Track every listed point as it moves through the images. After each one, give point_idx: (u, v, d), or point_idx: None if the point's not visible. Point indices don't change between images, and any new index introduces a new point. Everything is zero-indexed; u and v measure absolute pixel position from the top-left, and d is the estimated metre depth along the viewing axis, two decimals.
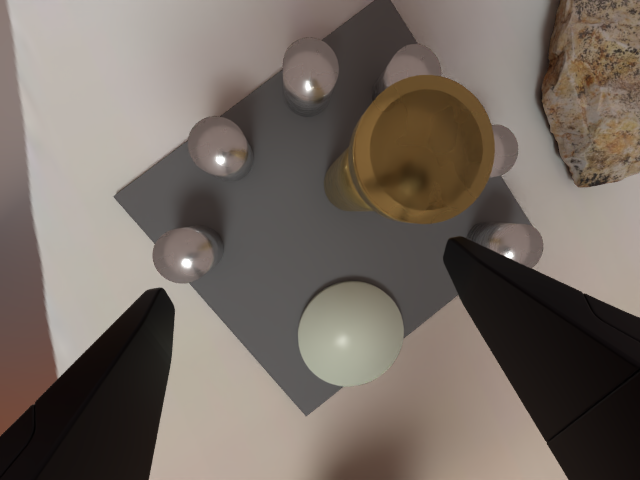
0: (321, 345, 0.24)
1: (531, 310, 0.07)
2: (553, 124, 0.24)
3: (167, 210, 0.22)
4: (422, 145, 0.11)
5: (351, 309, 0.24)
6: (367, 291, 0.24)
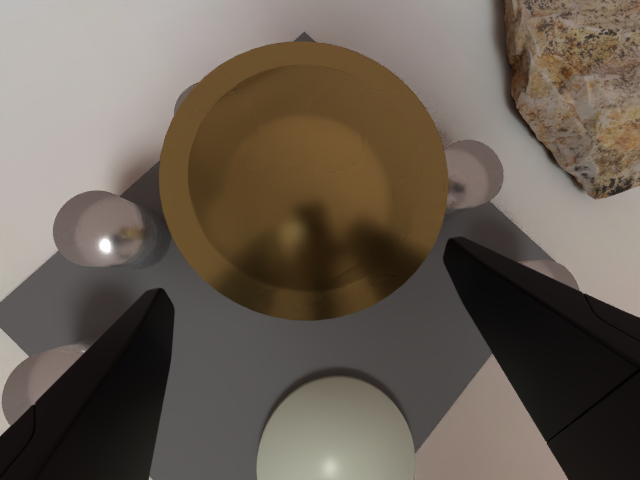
0: None
1: (531, 310, 0.07)
2: (538, 131, 0.20)
3: (60, 321, 0.17)
4: (297, 163, 0.05)
5: (329, 421, 0.17)
6: (348, 389, 0.17)
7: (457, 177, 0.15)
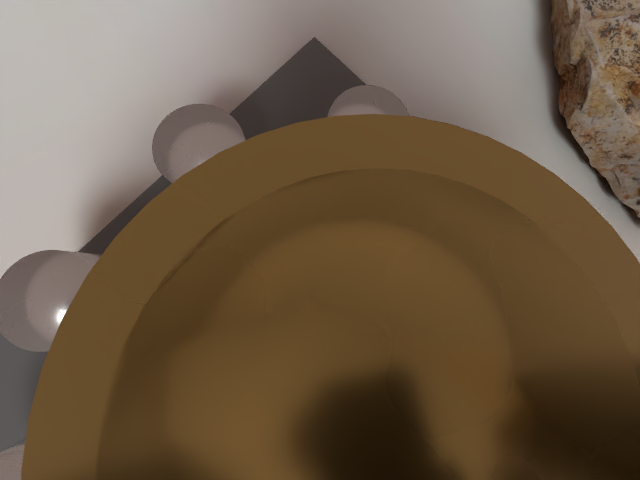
0: None
1: None
2: (593, 155, 0.17)
3: (17, 398, 0.14)
4: (363, 416, 0.02)
5: None
6: None
7: None
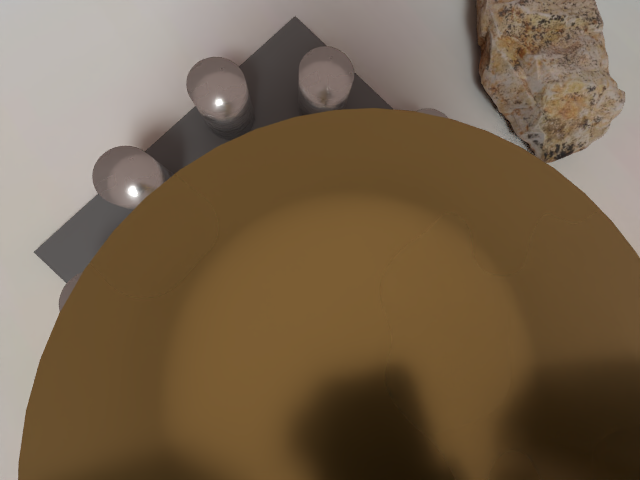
0: None
1: None
2: (499, 103, 0.23)
3: None
4: (362, 411, 0.02)
5: None
6: None
7: None
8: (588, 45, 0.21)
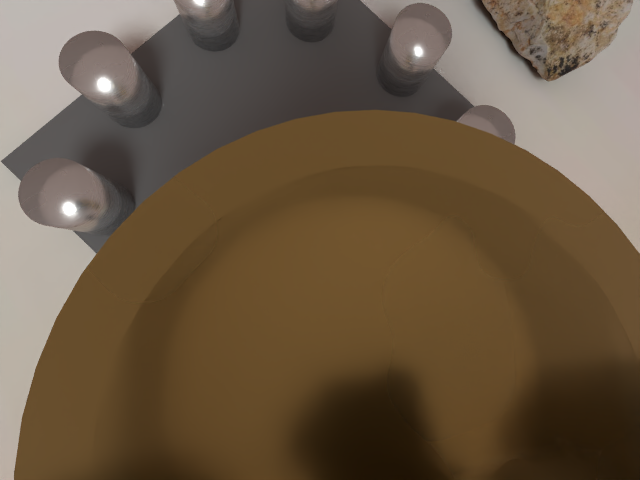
0: None
1: None
2: (499, 19, 0.22)
3: None
4: (364, 418, 0.02)
5: None
6: None
7: (411, 34, 0.18)
8: None
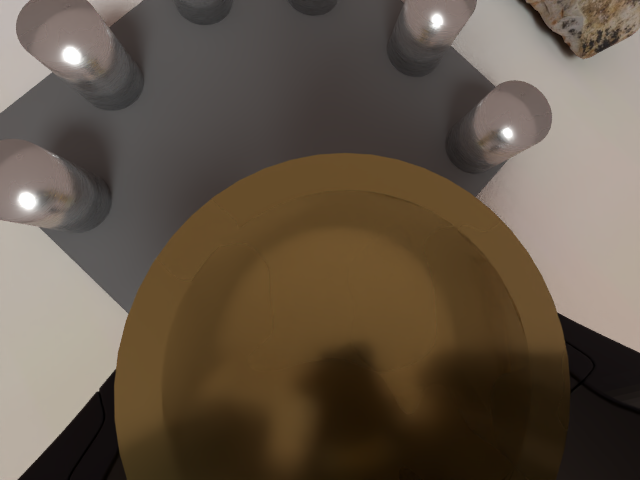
0: None
1: None
2: None
3: None
4: (335, 356, 0.03)
5: None
6: None
7: None
8: None
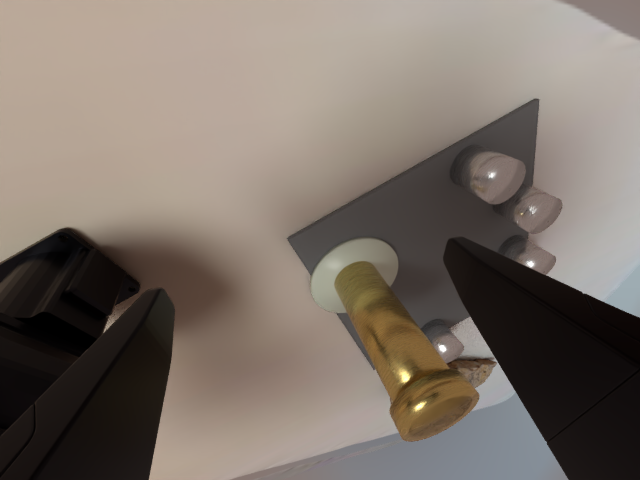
0: (357, 257, 0.26)
1: (531, 310, 0.07)
2: None
3: (505, 144, 0.25)
4: (444, 414, 0.18)
5: None
6: None
7: (452, 349, 0.35)
8: None
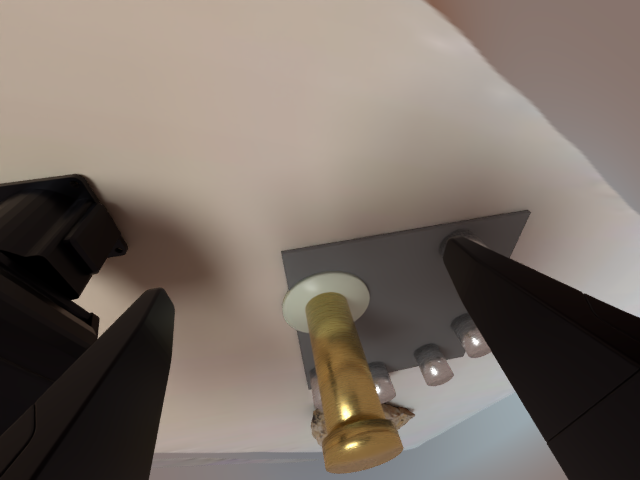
0: (335, 289, 0.28)
1: (531, 310, 0.07)
2: None
3: (492, 237, 0.29)
4: (368, 457, 0.20)
5: None
6: None
7: (385, 394, 0.37)
8: None
